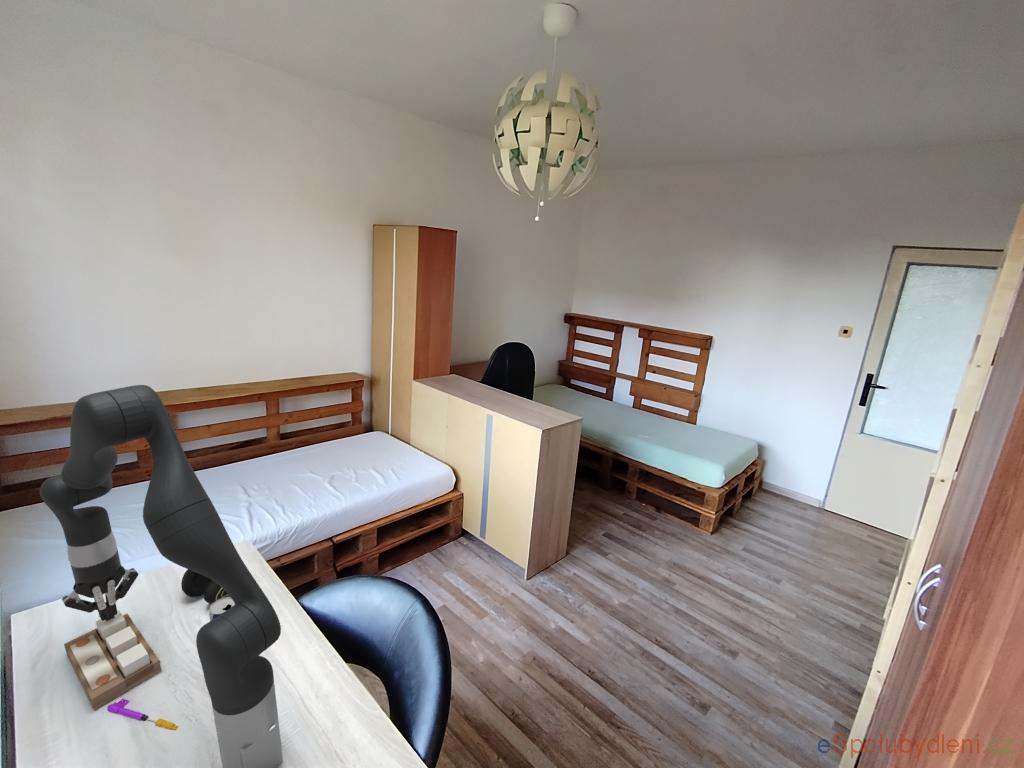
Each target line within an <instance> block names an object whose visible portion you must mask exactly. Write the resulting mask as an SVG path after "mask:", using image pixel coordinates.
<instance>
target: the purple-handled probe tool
mask: <svg viewBox="0 0 1024 768" xmlns="http://www.w3.org/2000/svg"><path fill="white" fill-rule="evenodd" d="M129 703H130V700H128V699H125V698H122V699H120V700H119V701H118V702H116V701H115V702H113V703H111V704H108V706H107V708H106V710H107V711H108V712H111V713H113V714H117V715H118V714H119V715H122V716H124V717H125V716H126V717H129V718H132V719H135V720H138V721H143V722H146V721H147V720H148V721H151V722H154V724H155V725H154V726H155V727H160V728H164V729H167V730H173V731H176V730H177V729H178V728H179V727H180V726H179V725H177V724H175V723H174V722H171V721H167V720H166V719H162V718H158V719H157V720H155V719H152V718H149V715H147V714H145V713H141V712H138V711H135V710H133V709H129V708H126V706H127V705H128V704H129Z"/></svg>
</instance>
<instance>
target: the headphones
mask: <svg viewBox="0 0 1024 768" xmlns="http://www.w3.org/2000/svg"><path fill="white" fill-rule="evenodd" d="M180 584H181V585H180V586H181V590H182V592H183V594H185V595H186V596H187V597H190V598H200V597H203V599H204V601H205V602H206V603H208V604H210V605H212V604H213V603H214V602H215V601H217V600H219V599H221V598H225V597H229V594H228V593H227V592H226V591H225V590H224V589H223V588H222V587H221V586H220V585H219V584H218V583H216V582H215V581H213V580H211V579H210V578H208V577H206V576H203V575H201V574H199V573H196V572H194V571H191V570H189V569H186V571H185V572H184V574H183V576H182V577H181V583H180Z"/></svg>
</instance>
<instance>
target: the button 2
mask: <svg viewBox="0 0 1024 768" xmlns="http://www.w3.org/2000/svg"><path fill="white" fill-rule="evenodd" d="M116 658H117V662H118V666H119V668H120V670H121V672H122V673H123V675H124V677H125V678H126V677H128V676H129V675H131V674H133V673H135V672H136V671H138V670H140V669H142V668H143V667H145V666H147V665H149V664H150V660H149V655H148V653H147V651H146V650H145V648H144V647H143V645H142V644H141V643H140V644H138V645H136V646H134V647H132V648H130V649H128V650H127V651H125V652H123V653H121V654H119V655H117V656H116Z"/></svg>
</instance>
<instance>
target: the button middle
mask: <svg viewBox="0 0 1024 768" xmlns="http://www.w3.org/2000/svg"><path fill="white" fill-rule="evenodd" d="M105 639H106V643H107V647H108V650H109V651H110V653H111V655H112V657H113V658H114V659H115V658H116V656H117V655H119V654H121V653H123V652H125V651H127V650H128V649H130V648H132V647H134V646H136V645H138V642H137V637H136V635H135V633H134V632H133V630H132V629H131V627H130V626H129V627H127V628H125V629H123V630H121V631H119V632H117V633H115V634H113V635H111V636H109V637H107V638H105Z"/></svg>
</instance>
